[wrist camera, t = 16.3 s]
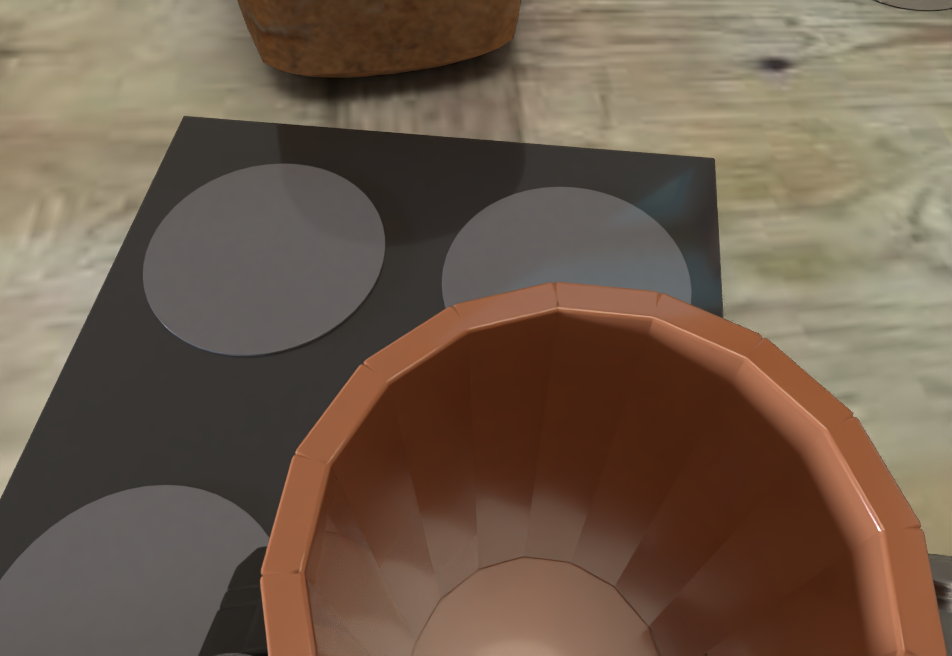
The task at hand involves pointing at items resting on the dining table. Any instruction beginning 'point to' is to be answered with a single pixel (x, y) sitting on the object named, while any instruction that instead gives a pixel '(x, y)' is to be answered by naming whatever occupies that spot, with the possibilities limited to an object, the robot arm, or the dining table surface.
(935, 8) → the cup
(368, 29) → the bread
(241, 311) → the stove
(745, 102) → the dining table surface
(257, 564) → the robot arm
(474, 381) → the cup
